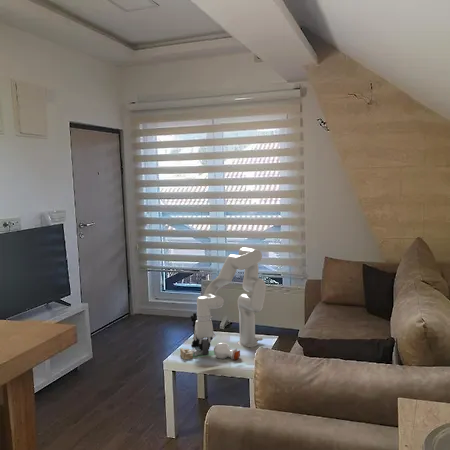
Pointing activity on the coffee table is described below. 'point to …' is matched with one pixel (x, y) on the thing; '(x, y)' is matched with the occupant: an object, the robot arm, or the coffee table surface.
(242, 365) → the coffee table surface
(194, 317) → the chess piece
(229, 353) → the potion bottle
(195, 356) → the felt board
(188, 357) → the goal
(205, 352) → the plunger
